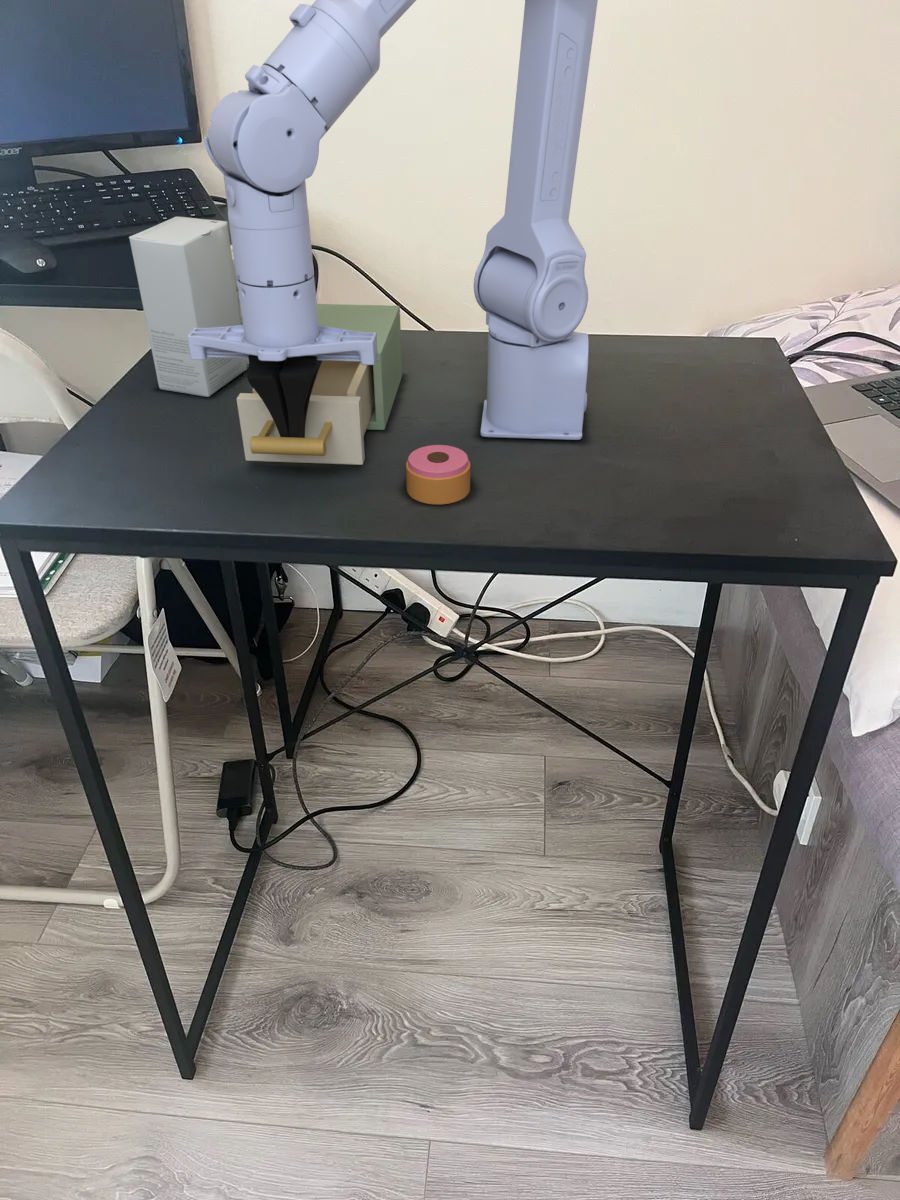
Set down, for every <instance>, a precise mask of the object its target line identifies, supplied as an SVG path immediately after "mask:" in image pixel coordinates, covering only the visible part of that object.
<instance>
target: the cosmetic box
mask: <svg viewBox="0 0 900 1200" xmlns="http://www.w3.org/2000/svg"><path fill="white" fill-rule="evenodd" d="M128 239H129V244H130V249H131V254H132V258H133V263H134V268H135V273H136V278H137V284H138V288H139V289H138V290H139V294H140V298H141V304H142V310H143V314H144V318H145V324H146V328H147V329H146V330H147V334H148V339H149V345H150V349H151V355H152V359H153V363H154V369H155V375H156V380H157V384H158V389H159V390H162V391H169V392H176V393H181V394H187V395H188V394H189V395H194V396H198V397H199V396H200V397H207V398H209V397H211V396H213V395H214V394H215V393H216V392H218V391H219V390H220V389H222V388H223V387H225V386H227V384H229V383H230V382H232V381H233V380H234V379H237V377H239V376H241V374H243V373H244V372H246V371H247V370H248V367H247V362H246V358H219V357H206V359H204V360H191V356H190V351H189V345H188V339H187V336H188V335H189V334H190V333H191V332H192V331H193V330H194V328H214V327H226V326H238V325H241V320H240V312H239V305H238V298H237V291H236V283H235V276H234V268H233V261H232V254H231V247H230V245H231V241H230V239H231V238H230V230H229V222H228V220H227V221H226V220H217V219H207V218H206V219H205V218H197V217H187V216H174V217H172V218H169V219H167V220H165V221H162V222H161V223H158V224H156V225H153V226H151V227H149V228H147V229H144V230H142V231H140V232H137V233H135V234H133V235H129V236H128Z"/></svg>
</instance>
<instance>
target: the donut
mask: <svg viewBox="0 0 900 1200" xmlns="http://www.w3.org/2000/svg"><path fill="white" fill-rule="evenodd" d="M405 479H406V480H405V481H406V492H407V494H408V495H409V497H410V498H411V499H412V500H415V501H417V502H420V503H423V504H428V505H435V506H437V505H448V504H453V503H457V502H459V501H462V500H463V499H465V498H467V496H468V495H469V493H470V492H471V461H470V460H469V457H468V454H467V453H466V452H465V451H464V450H462V449H461V448H458V447H456V446H452V445H447V444H431V445H425V446H422V447H418V448H415V450H413V451H411V452H410V454H409V455H408V458H407V460H406V462H405Z"/></svg>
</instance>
